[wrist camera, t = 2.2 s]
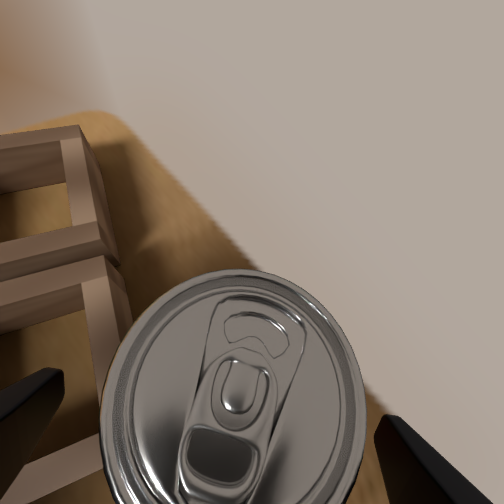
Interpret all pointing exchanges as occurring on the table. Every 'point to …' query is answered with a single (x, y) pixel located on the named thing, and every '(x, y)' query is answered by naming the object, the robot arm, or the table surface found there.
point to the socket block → (62, 279)
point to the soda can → (233, 398)
